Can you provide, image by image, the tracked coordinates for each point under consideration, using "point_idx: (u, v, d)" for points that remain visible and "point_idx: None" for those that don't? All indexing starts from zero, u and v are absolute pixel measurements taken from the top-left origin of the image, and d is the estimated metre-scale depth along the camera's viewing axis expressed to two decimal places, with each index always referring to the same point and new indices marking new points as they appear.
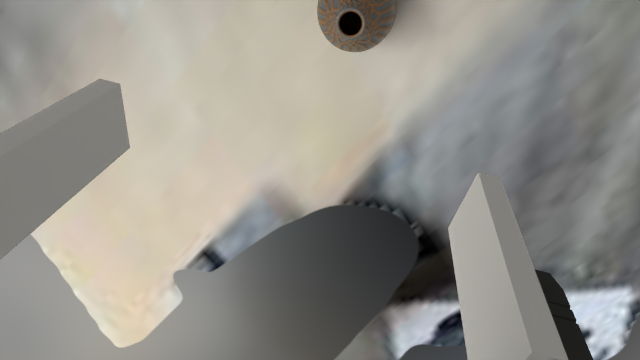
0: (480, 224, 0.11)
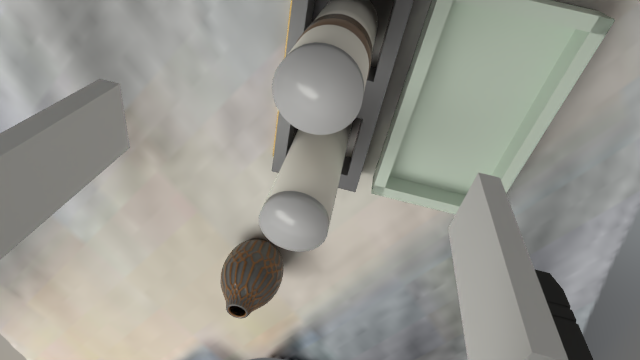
0: (480, 224, 0.11)
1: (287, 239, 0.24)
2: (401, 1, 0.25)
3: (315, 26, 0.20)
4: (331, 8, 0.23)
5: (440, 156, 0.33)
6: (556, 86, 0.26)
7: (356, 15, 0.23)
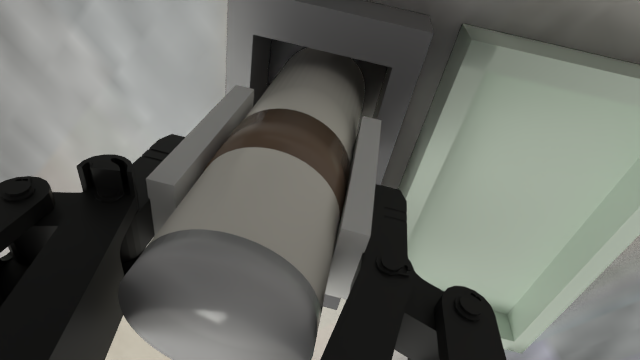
0: (354, 155, 0.13)
1: None
2: (400, 71, 0.15)
3: (234, 148, 0.10)
4: (281, 88, 0.14)
5: (455, 264, 0.24)
6: None
7: (322, 104, 0.13)
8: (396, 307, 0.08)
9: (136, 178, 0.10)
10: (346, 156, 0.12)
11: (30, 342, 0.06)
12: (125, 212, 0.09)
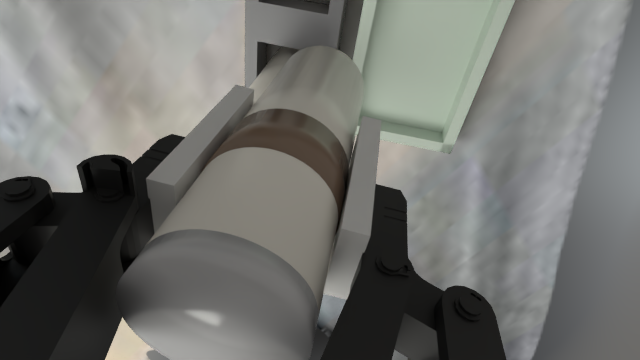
0: (354, 155, 0.13)
1: None
2: None
3: (232, 148, 0.10)
4: (280, 88, 0.14)
5: (401, 91, 0.35)
6: (497, 7, 0.28)
7: (321, 104, 0.13)
8: (396, 307, 0.08)
9: (136, 178, 0.10)
10: (345, 156, 0.12)
11: (30, 342, 0.06)
12: (125, 212, 0.09)
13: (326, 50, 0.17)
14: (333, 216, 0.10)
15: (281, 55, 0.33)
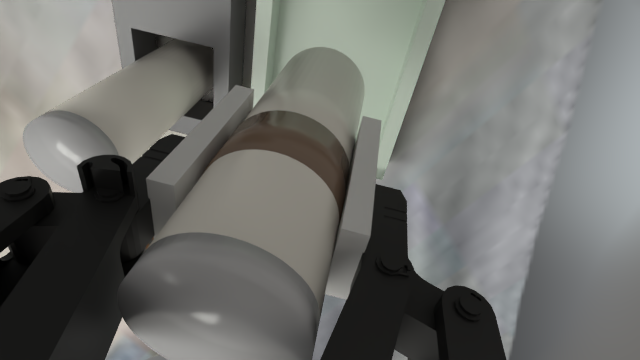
0: (353, 155, 0.13)
1: (70, 178, 0.19)
2: None
3: (233, 150, 0.10)
4: (281, 90, 0.14)
5: None
6: None
7: (322, 106, 0.13)
8: (396, 307, 0.08)
9: (135, 177, 0.10)
10: (346, 158, 0.12)
11: (30, 343, 0.06)
12: (125, 212, 0.09)
13: (327, 52, 0.17)
14: (334, 218, 0.10)
15: (163, 47, 0.25)
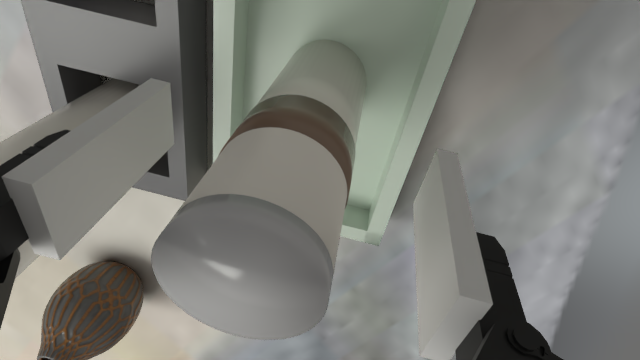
0: (434, 194, 0.12)
1: None
2: None
3: (250, 128, 0.11)
4: (290, 77, 0.15)
5: None
6: (438, 29, 0.16)
7: (329, 92, 0.14)
8: None
9: None
10: (352, 139, 0.13)
11: None
12: None
13: (331, 44, 0.18)
14: (343, 190, 0.11)
15: (99, 88, 0.20)
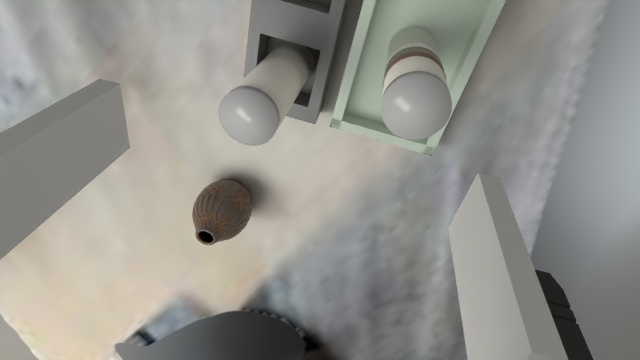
0: (480, 224, 0.11)
1: (243, 132, 0.28)
2: None
3: (407, 56, 0.26)
4: (409, 41, 0.30)
5: None
6: (482, 21, 0.31)
7: (431, 47, 0.29)
8: None
9: None
10: None
11: None
12: None
13: (420, 28, 0.33)
14: None
15: (281, 48, 0.35)
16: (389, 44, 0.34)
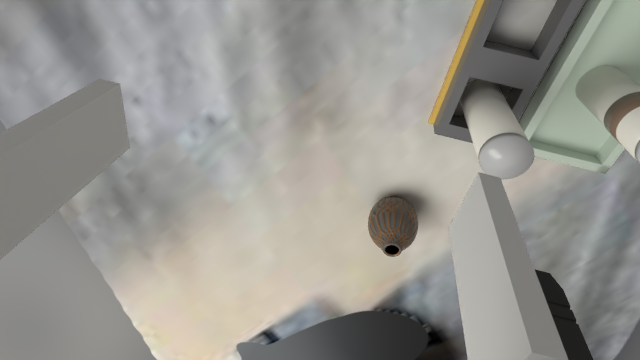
0: (480, 224, 0.11)
1: (498, 169, 0.34)
2: (575, 0, 0.34)
3: None
4: (625, 84, 0.35)
5: (570, 121, 0.43)
6: None
7: None
8: None
9: None
10: None
11: None
12: None
13: (614, 67, 0.38)
14: None
15: (486, 89, 0.40)
16: (582, 81, 0.40)
